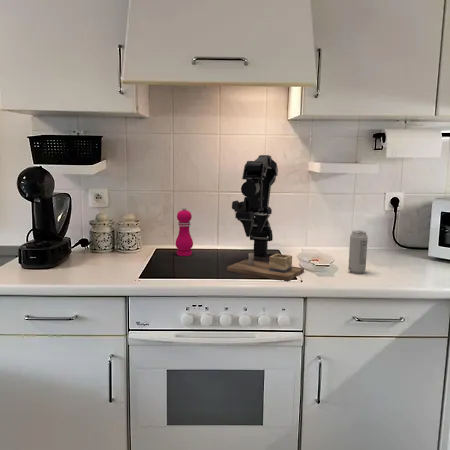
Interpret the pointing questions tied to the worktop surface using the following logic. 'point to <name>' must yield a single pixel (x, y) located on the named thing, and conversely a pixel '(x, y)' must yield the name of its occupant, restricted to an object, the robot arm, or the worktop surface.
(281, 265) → the sleeve
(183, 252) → the pepper mill
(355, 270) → the energy drink can
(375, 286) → the worktop surface
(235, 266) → the pin board
